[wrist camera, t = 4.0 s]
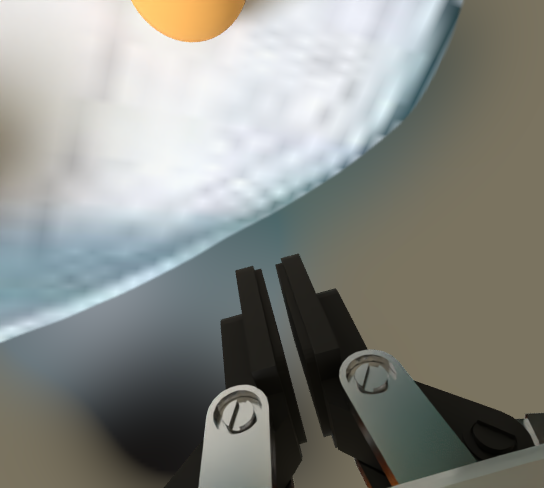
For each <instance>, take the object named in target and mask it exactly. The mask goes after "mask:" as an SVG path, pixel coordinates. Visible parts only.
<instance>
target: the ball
mask: <svg viewBox="0 0 544 488" xmlns="http://www.w3.org/2000/svg"><path fill="white" fill-rule="evenodd" d="M131 1H132V3H133V5H134V6H135V8H136V9H137V11H138V12H139V13H140V15H141V16H142V17H143V18H144V19H145V20H146V21H147V22H148V23H149V24H150V25H151V26H152V27H153V28H155V29H156V30H157V31H159V32H160V33H162V34H164V35H166V36H168V37H170V38H173V39H175V40H179V41H184V42H201V41H206V40H209V39H212V38H214V37H216V36H218V35H220V34H221V33H223V32H224V31H225V30H227V29H228V28H229V27H230V26H231V25H232V24H233V22H234V21H235V20H236V19H237V17H238V15H239V14H240V12H241V10H242V8H243V6H244V4H245V0H131Z"/></svg>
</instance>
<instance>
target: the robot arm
mask: <svg viewBox="0 0 544 488" xmlns="http://www.w3.org/2000/svg"><path fill="white" fill-rule="evenodd" d="M281 261H282V263H280V264H276V269H277V274H278V278H279V282H280V286H281V290H282V294H283V298H284V302H285V306H286V310H287V314H288V318H289V322H290V326H291V330H292V334H293V337H294V341H295V344H296V348H297V351H298V354H299V357H300V361H301V364H302V367H303V371H304V374H305V377H306V380H307V384H308V387H309V390H310V393H311V397H312V400H313V404H314V407H315V410H316V413H317V417H318V420H319V423H320V427H321V430H322V433H323V436H324V437H326V436H330V435H331V436H332V438H333V442H334V445H335V447H336V448H337V447H338V450H340V451H342V452H344V453H346V454H348V455H350V456H352V457H354V460H355V463H356V466H357V468H358V470H359V472H360V474H361V476H362V477H363V480H364V482H365V484H366V486H367V488H544V413H530V414H525V419H514V418H513V417H511V416H509V415H507V414H505V413H503V412H501V411H498V410H496V409H492V408H490V407H487V406H484V405H482V404H479V403H476V402H473V401H470V400H467V399H464V398H462V397H459V396H456V395H453V394H450V393H448V392H445V391H442V390H439V389H436V388H434V387H431V386H428V385H425V384H422V383H419V382H416V381H414V380H413V379H412V378H411V377H410V376H409V374H408V373H407V372H406V371H405V369H404V368H403V367H402V365H401V364H400V363H399V362H398V361H397V360H396V359H395V358H394V357H393V356H391V355H389V354H387V353H385V352H382V351H378V350H368V349H367V347H366V345H365V343H364V341H363V339H362V338H361V336H360V334H359V332H358V330H357V328H356V326H355V324H354V322H353V320H352V318H351V316H350V314H349V312H348V310H347V308H346V307H345V305H344V303H343V301H342V299H341V297H340V295H339V293H338V291H337V290H336V289H332V290H328V291H324V292H320V293H317V294H316V293H315V290H314V288H313V286H312V283H311V281H310V279H309V276H308V274H307V272H306V269H305V267H304V265H303V263H302V260H301V258H300V256H299V254H295V255H291V256H287V257H284V258H281ZM236 278H237V285H238V291H239V297H240V303H241V310H242V314H240V315H236V316H233V317H229V318H226V319H222V320H221V335H222V347H223V359H224V372H225V384H226V390H225V391H223V392H222V393H221V394H219V395H218V396H217V397H216V398H215V399H214V400H213V402H212V404H211V405H210V407H209V409H208V413H207V417H206V426H205V435H204V439H203V440H202V442H201V443H200V444H199V445H198V447H197V448H196V449H195V450H194V452H193V453H192V454H191V455H190V457H189V458H188V459H187V460H186V461H185V463H184V464H183V465H182V466H181V467H180V469H179V470H178V471H177V472H176V474H175V475H174V476H173V477H172V478H171V480H170V481H169V482H168V483H167V485H166V486H165V487H164V488H295V485H294V480H293V474H294V473H295V471H296V469H297V467H298V465H299V464H300V463H301V461H302V453H301V449H300V445H299V444H302V443H305V442H307V439H306V436H305V432H304V428H303V424H302V420H301V416H300V412H299V409H298V405H297V401H296V397H295V393H294V389H293V386H292V382H291V378H290V375H289V371H288V367H287V363H286V359H285V355H284V352H283V347H282V344H281V340H280V336H279V333H278V329H277V325H276V322H275V318H274V314H273V310H272V307H271V303H270V299H269V296H268V292H267V289H266V285H265V281H264V278H263V274H262V270H261V269H258V270H254V268H253V266H250V267H247V268H243V269H239V270H236Z"/></svg>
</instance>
